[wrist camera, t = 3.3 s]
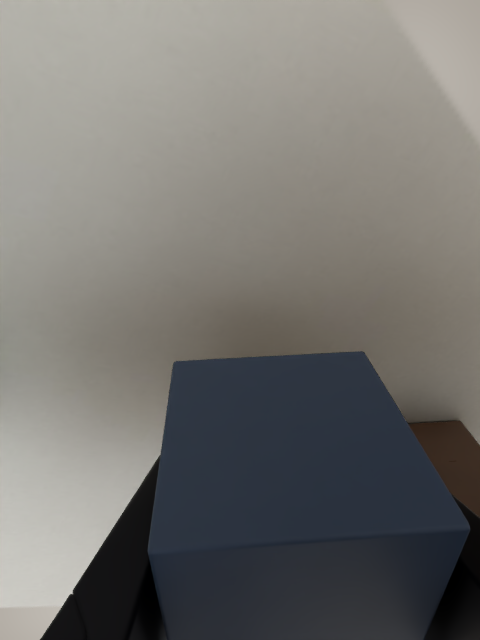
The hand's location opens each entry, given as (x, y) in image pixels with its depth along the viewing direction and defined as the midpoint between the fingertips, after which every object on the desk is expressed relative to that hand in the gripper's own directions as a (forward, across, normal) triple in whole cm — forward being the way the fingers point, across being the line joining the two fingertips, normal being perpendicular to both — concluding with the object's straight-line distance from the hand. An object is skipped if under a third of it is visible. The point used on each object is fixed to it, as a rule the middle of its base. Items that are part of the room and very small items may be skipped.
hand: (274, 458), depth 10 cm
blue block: (+1, 0, 0) cm, 1 cm away
